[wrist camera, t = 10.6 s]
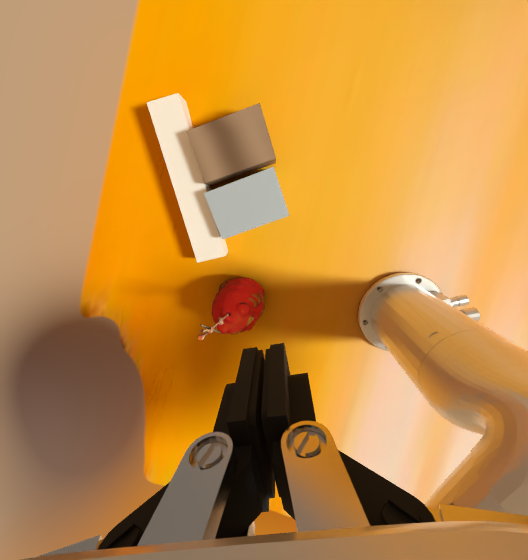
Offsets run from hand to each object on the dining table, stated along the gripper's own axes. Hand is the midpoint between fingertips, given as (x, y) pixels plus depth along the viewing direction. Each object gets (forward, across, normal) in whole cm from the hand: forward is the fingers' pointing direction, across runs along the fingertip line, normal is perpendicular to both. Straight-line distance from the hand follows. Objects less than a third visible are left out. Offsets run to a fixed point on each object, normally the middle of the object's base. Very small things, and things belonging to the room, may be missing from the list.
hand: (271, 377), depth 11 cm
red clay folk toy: (+31, +6, +6) cm, 32 cm away
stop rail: (+30, +9, -11) cm, 34 cm away
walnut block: (+31, +3, -14) cm, 34 cm away
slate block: (+31, +2, -7) cm, 32 cm away
